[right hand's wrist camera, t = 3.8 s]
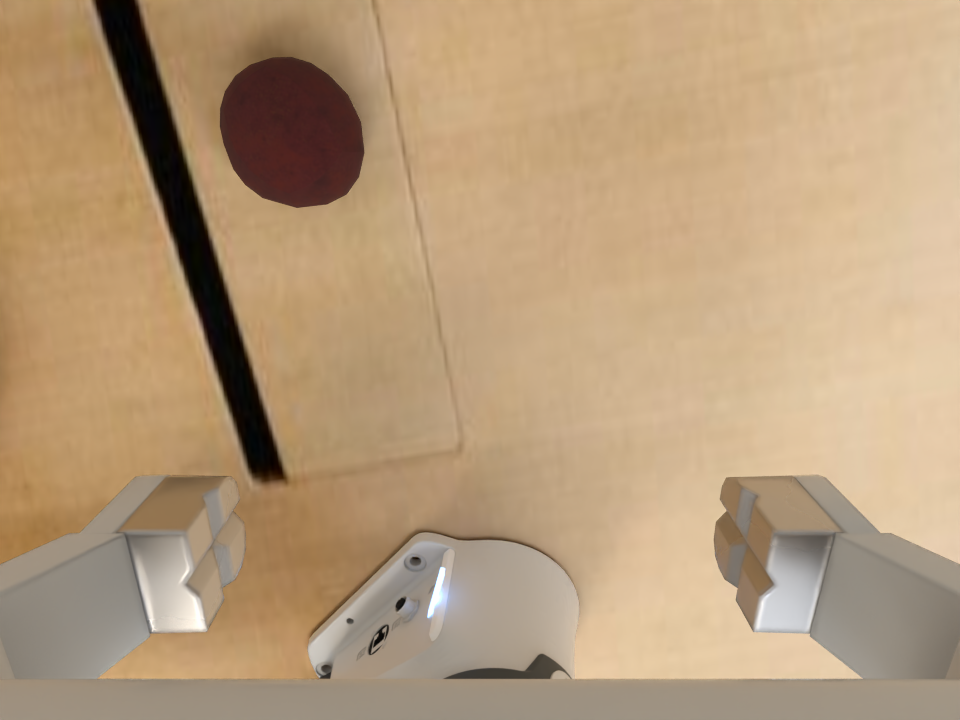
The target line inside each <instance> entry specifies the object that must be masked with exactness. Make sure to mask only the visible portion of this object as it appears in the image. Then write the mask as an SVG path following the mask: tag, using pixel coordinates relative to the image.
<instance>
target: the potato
mask: <svg viewBox="0 0 960 720" xmlns="http://www.w3.org/2000/svg"><path fill="white" fill-rule="evenodd" d="M220 128H221V133H222V138H223V142H224V146H225V148H226V151H227V154H228V156H229V159H230V162H231V164H232V167H233V169H234V171H235V172H236V173H237V175H238V176H239V177H240V179H241V180H242V181H243V182H244V184H245V185H246V186H248V187H249V188H250V189H252V190H253V191H254V192H256V193H257V194H258V195H259V196H261V197H262V198H265V199H268V200H272V201H275V202H279V203H282V204H286V205H289V206H293V207H296V208H299V207H308V206H317V205H325V204H329V203H331V202H332V201H334V200H336V199H338V198H340V197H342V196H344V195H346V194H347V193H348V192H349V190H350V189H351V187H352V186H353V185H354V183H355V182H356V180H357V179H358V177H359V174H360V170H361V165H362V161H363V156H364V146H363V137H362V128H361V121H360V119H359V117H358V115H357V113H356V111H355V109H354V107H353V105H352V103H351V101H350V98H349V96H348V95H347V94H346V92H345V91H344V90H343V89H342V88H341V87H340V86H339V85H338V84H337V83H336V82H335V81H334V80H333V79H332V78H331V77H330V76H329V75H328V74H326V73H325V72H323V71H322V70H320V69H319V68H317V67H316V66H314V65H313V64H311V63H309V62H306V61H302V60H299V59H296V58H293V57H278V58H270V59H267V60H264V61H261V62H258V63H255V64H251V65H249V66H248V67H247V68H245V69H244V70H243V71H241V72H240V73H239V74H237V75H236V76H235V77H234V79H233V80H232V82H231V83H230V85H229V86H228V88H227V89H226V91H225V94H224V97H223V101H222V104H221V107H220Z"/></svg>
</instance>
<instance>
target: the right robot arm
mask: <svg viewBox="0 0 960 720" xmlns="http://www.w3.org/2000/svg"><path fill="white" fill-rule="evenodd" d="M239 500H240V496H239V491H238V486H237V482H236V481H235V480H234V479H233V478H232V477H231V476H183V475H173V476H170V475H142V476H137V477H135V478H134V479H133V480H132V481H131V482H130V483H129V484H128V485H127V486H126V487H125V488H124V489H123V490H122V491H121V492H120V493H119V494H118V495H117V496H116V497H115V498H114V499H113V500H112V501H111V502H110V503H109V504H108V505H107V506H106V507H105V508H104V509H103V510H102V511H101V512H100V513H99V514H98V515H97V516H96V517H95V518H94V519H93V520H92V521H91V522H90V523H89V524H88V525H87V526H86V527H85V528H84V529H83V530H82V531H81V532H80V533H69V534H66V535H64V536H62V537H60V538H58V539H55V540H53V541H51V542H49V543H46V544H44V545H42V546H40V547H38V548H35V549H33V550H31V551H29V552H26V553H24V554H22V555H20V556H18V557H15V558H13V559H11V560H9V561H7V562H4V563H2V564H0V720H960V564H958V563H956V562H953V561H951V560H949V559H947V558H944V557H942V556H940V555H938V554H936V553H933V552H931V551H929V550H927V549H925V548H922V547H920V546H918V545H916V544H914V543H911V542H909V541H907V540H905V539H902V538H900V537H898V536H896V535H894V534H891V533H880V532H879V531H878V530H877V529H876V528H875V527H874V526H873V525H872V524H871V523H870V522H869V521H868V520H867V519H866V518H865V517H864V516H863V515H862V514H861V513H860V512H859V511H858V510H857V509H856V508H855V507H854V506H853V505H852V504H851V503H850V502H849V501H848V500H847V499H846V498H845V497H844V496H843V495H842V494H841V493H840V492H839V491H838V490H837V489H836V488H835V487H834V486H833V484H832V483H831V482H830V481H829V480H828V479H827V478H825V477H823V476H820V475H795V476H763V477H728V478H726V479H725V481H724V483H723V485H722V490H721V495H720V500H721V502H722V504H723V505H724V507H725V508H726V510H727V511H726V512H725V513H724V514H723V515H722V516H721V517H720V518H719V519H718V521H717V522H716V526H715V534H714V547H715V557H716V560H717V563H718V567H719V569H720V571H721V573H722V575H723V577H724V579H725V580H726V581H728V582H729V583H731V584H732V585H734V586H735V587H737V588H738V590H737V595H736V601H737V603H738V605H739V607H740V608H741V610H742V612H743V614H744V616H745V618H746V619H747V621H748V623H749V625H750V627H751V629H752V630H753V632H773V633H810V637H811V638H813V639H814V640H815V641H817V642H818V643H819V644H820V645H822V646H823V647H824V648H825V649H827V650H828V651H829V652H830V653H832V654H833V655H834V656H835V657H837V658H838V659H839V660H840V661H842V662H843V663H844V664H846V665H847V666H848V667H849V668H851V669H852V670H853V671H854V672H856V673H857V674H858V675H859V676H861V677H862V678H863V679H575V661H574V656H575V638H576V631H577V625H578V621H579V611H580V608H579V599H578V595H577V592H576V589H575V587H574V585H573V583H572V581H571V579H570V578H569V576H568V575H567V574H566V572H565V571H564V570H563V569H562V568H561V567H560V566H559V565H558V564H557V563H556V562H555V561H553V560H552V559H551V558H549V557H548V556H546V555H545V554H543V553H541V552H539V551H537V550H535V549H533V548H530V547H528V546H525V545H522V544H518V543H514V542H509V541H502V540H457V539H454V538H450V537H447V536H444V535H440V534H436V533H430V532H423V533H419V534H417V535H415V536H414V537H412V538H411V539H410V540H409V541H408V542H407V543H406V544H405V545H404V546H403V547H402V548H401V549H400V550H399V551H398V552H397V553H396V554H395V555H394V556H393V557H392V558H391V559H390V560H389V561H388V562H387V563H386V564H384V565H383V566H382V567H381V568H380V569H379V570H378V571H377V572H376V573H375V574H374V575H373V576H372V577H371V578H370V579H369V580H368V581H367V582H366V583H365V584H364V585H363V586H362V587H361V588H360V589H359V590H358V591H357V592H356V593H355V594H353V595H352V596H351V597H350V598H349V599H348V600H347V601H346V602H345V603H344V604H343V605H342V606H341V607H340V608H339V609H338V610H337V611H336V612H335V613H334V614H333V615H332V616H331V617H330V618H329V619H328V620H327V621H326V622H325V623H324V624H322V625H321V626H320V627H319V628H318V629H317V630H316V631H315V632H314V633H313V635H312V636H311V637H310V639H309V643H308V654H309V658H310V662H311V664H312V666H313V668H314V670H315V672H316V674H317V675H318V677H319V679H97V678H98V677H100V676H101V675H102V674H103V673H105V672H106V671H107V670H108V669H110V668H111V667H112V666H113V665H115V664H116V663H117V662H118V661H120V660H121V659H122V658H124V657H125V656H126V655H127V654H129V653H130V652H131V651H132V650H134V649H135V648H136V647H137V646H139V645H140V644H141V643H142V642H144V641H145V640H146V639H148V638H149V637H150V633H185V632H207V630H208V629H209V627H210V625H211V623H212V621H213V619H214V618H215V616H216V614H217V612H218V610H219V609H220V607H221V605H222V603H223V601H224V595H223V590H222V588H223V587H225V586H226V585H228V584H229V583H231V582H232V581H234V580H235V579H236V577H237V575H238V573H239V571H240V569H241V567H242V563H243V559H244V555H245V550H246V532H245V525H244V522H243V521H242V520H241V518H240V517H239V516H238V515H237V514H236V513H235V512H234V511H233V510H234V508H235V507H236V505H237V504H238V502H239ZM412 557H419V558H420V559H417V560H416V559H413V558H412Z"/></svg>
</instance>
